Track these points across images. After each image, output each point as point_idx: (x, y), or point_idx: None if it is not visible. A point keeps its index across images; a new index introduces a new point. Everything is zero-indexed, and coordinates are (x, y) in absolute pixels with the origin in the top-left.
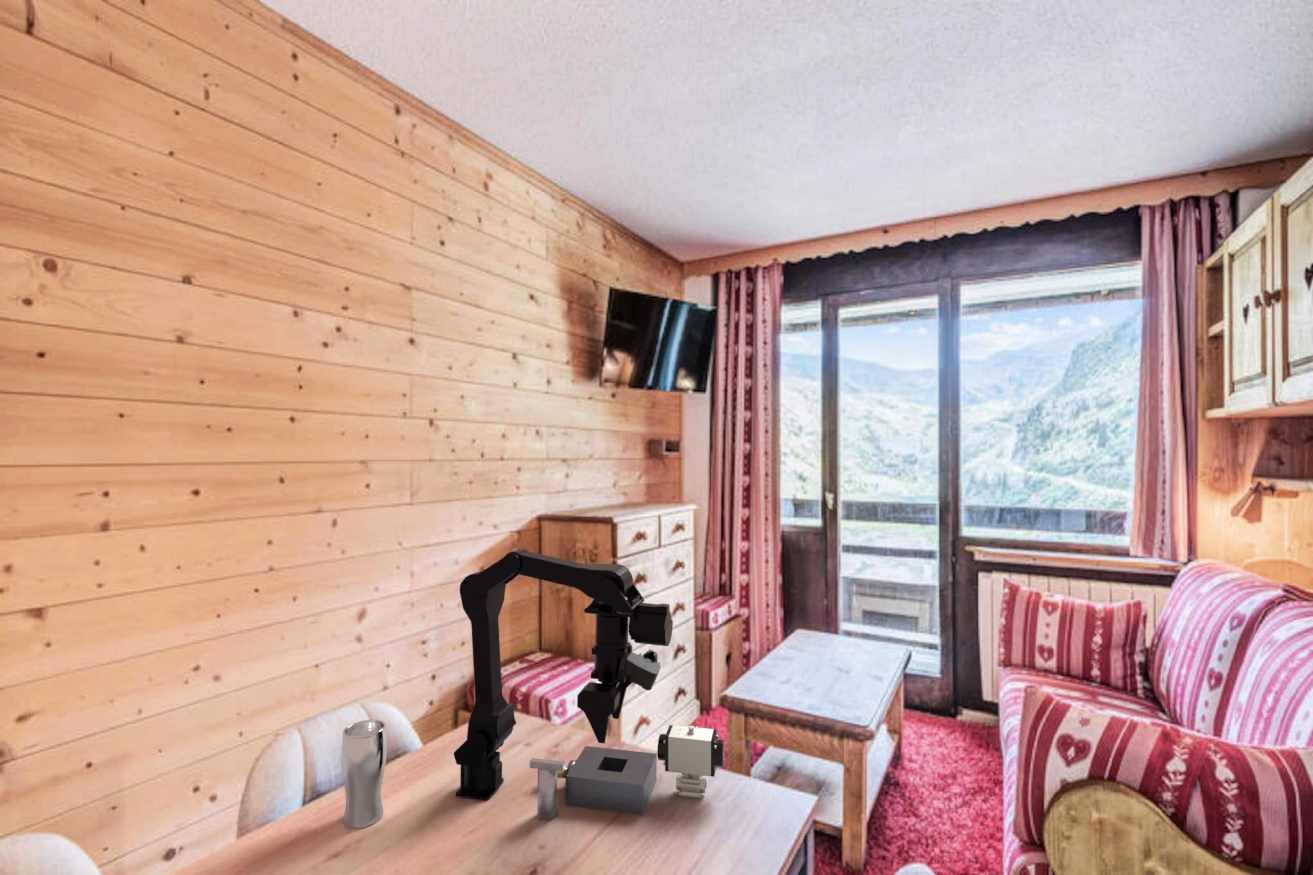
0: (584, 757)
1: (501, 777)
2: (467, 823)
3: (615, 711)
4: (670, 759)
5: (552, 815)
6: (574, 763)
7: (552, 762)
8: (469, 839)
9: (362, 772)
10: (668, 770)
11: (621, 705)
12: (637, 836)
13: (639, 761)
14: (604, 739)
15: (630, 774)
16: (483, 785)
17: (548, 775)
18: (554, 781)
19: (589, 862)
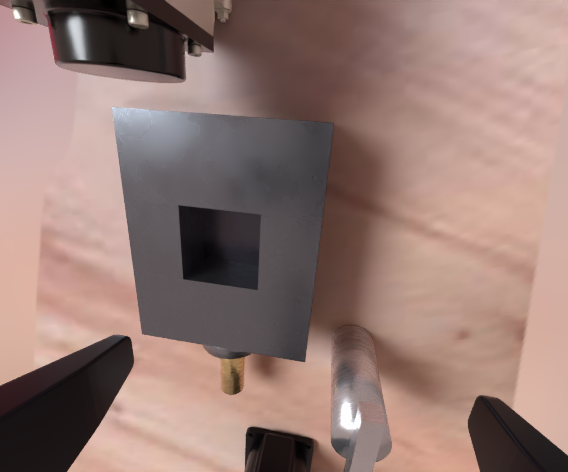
0: (201, 329)
1: (266, 446)
2: None
3: (99, 390)
4: (192, 7)
5: (367, 336)
6: (237, 349)
7: (369, 452)
8: (432, 445)
9: None
10: (211, 35)
11: (38, 395)
12: (432, 125)
13: (180, 164)
14: (530, 426)
15: (268, 183)
16: (299, 468)
17: (388, 430)
18: (372, 396)
19: (533, 231)
